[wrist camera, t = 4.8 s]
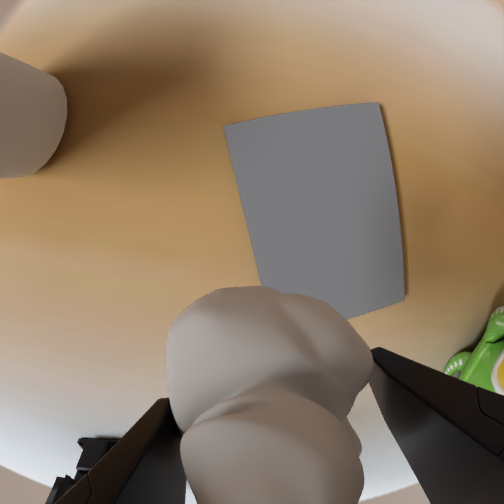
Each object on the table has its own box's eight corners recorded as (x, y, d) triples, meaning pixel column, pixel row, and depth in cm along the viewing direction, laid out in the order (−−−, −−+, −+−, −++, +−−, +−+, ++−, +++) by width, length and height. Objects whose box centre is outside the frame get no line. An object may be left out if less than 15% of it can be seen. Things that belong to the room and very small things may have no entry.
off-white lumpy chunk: (263, 217, 8) (436, 524, 1) (378, 354, 10) (493, 526, 2) (136, 331, 9) (40, 562, 1) (267, 431, 11) (294, 609, 3)
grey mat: (400, 297, 21) (404, 300, 20) (273, 334, 21) (274, 339, 20) (374, 103, 17) (378, 102, 16) (223, 127, 17) (223, 126, 16)
